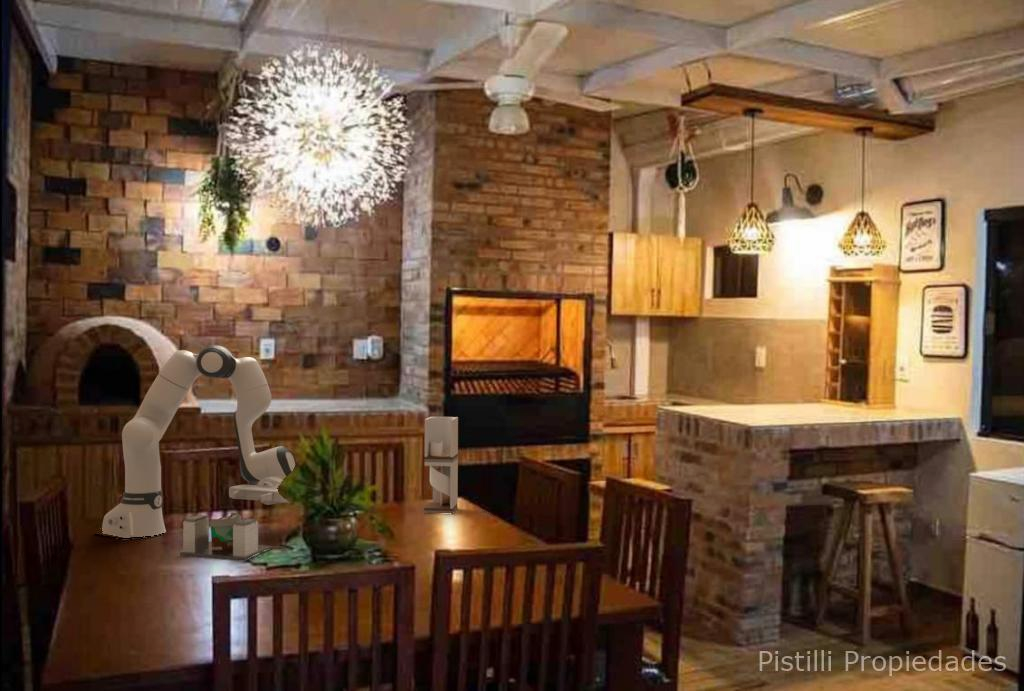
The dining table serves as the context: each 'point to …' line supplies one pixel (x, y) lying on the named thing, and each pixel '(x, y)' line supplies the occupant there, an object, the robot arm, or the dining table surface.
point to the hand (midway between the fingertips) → (247, 497)
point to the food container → (223, 532)
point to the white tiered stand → (442, 463)
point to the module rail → (201, 547)
